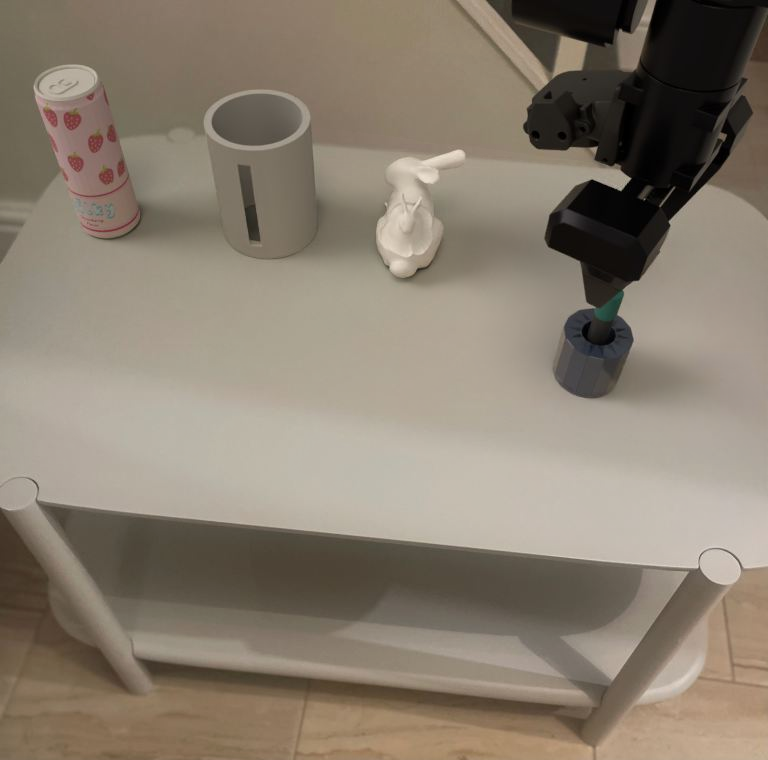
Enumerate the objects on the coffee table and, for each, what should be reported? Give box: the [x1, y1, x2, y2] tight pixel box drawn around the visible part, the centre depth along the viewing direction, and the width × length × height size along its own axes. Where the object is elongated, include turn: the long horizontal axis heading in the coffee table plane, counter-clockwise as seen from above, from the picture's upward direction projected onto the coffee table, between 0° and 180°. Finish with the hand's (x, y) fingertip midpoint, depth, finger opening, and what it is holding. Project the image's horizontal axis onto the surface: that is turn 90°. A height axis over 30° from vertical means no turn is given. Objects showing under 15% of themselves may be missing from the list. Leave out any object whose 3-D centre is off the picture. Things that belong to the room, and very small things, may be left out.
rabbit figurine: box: [375, 149, 467, 279], centre depth 72 cm, size 12×8×10 cm, turn 173°
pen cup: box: [552, 307, 635, 399], centre depth 65 cm, size 5×6×5 cm
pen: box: [586, 289, 625, 346], centre depth 63 cm, size 2×2×9 cm
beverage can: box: [33, 63, 141, 239], centre depth 72 cm, size 6×6×15 cm
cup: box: [203, 88, 319, 260], centre depth 73 cm, size 9×9×12 cm
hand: (622, 267), depth 57 cm, fingers open, 9 cm apart
